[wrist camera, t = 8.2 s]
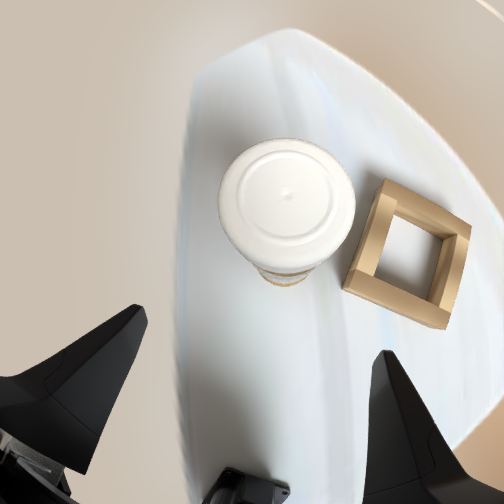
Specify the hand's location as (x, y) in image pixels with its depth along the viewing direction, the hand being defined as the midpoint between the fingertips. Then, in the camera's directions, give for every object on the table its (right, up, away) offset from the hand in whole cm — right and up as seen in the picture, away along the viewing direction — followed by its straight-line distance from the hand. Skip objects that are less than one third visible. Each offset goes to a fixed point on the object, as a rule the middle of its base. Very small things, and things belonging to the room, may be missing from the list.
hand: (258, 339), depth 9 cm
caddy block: (+13, +2, +11) cm, 17 cm away
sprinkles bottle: (+2, +2, +12) cm, 13 cm away
